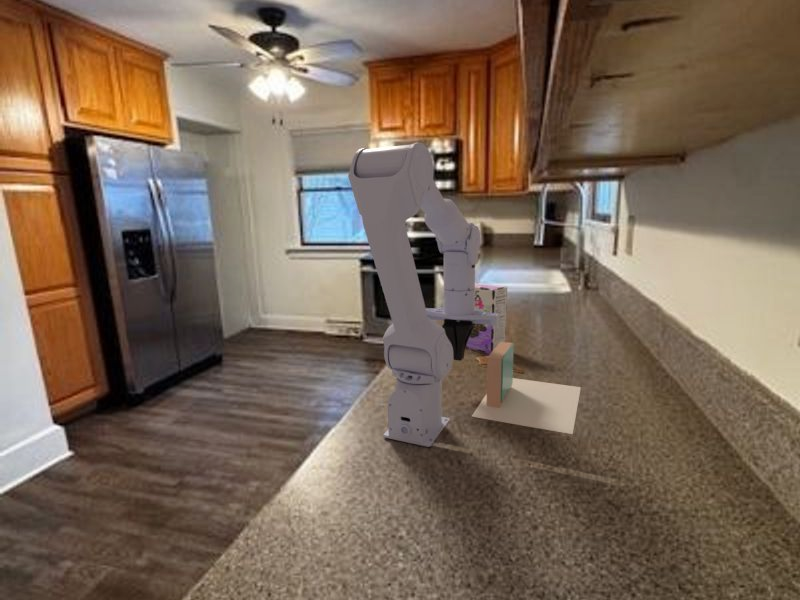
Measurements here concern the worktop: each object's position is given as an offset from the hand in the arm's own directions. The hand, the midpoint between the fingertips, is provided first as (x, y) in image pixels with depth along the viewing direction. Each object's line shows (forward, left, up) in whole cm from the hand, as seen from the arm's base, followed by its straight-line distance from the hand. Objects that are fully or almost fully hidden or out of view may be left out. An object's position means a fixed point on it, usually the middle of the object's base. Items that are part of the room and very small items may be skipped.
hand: (458, 358), depth 86 cm
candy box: (+30, +5, -7) cm, 31 cm away
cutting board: (0, -13, -7) cm, 15 cm away
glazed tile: (0, -8, -6) cm, 10 cm away
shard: (+18, -4, -8) cm, 20 cm away
